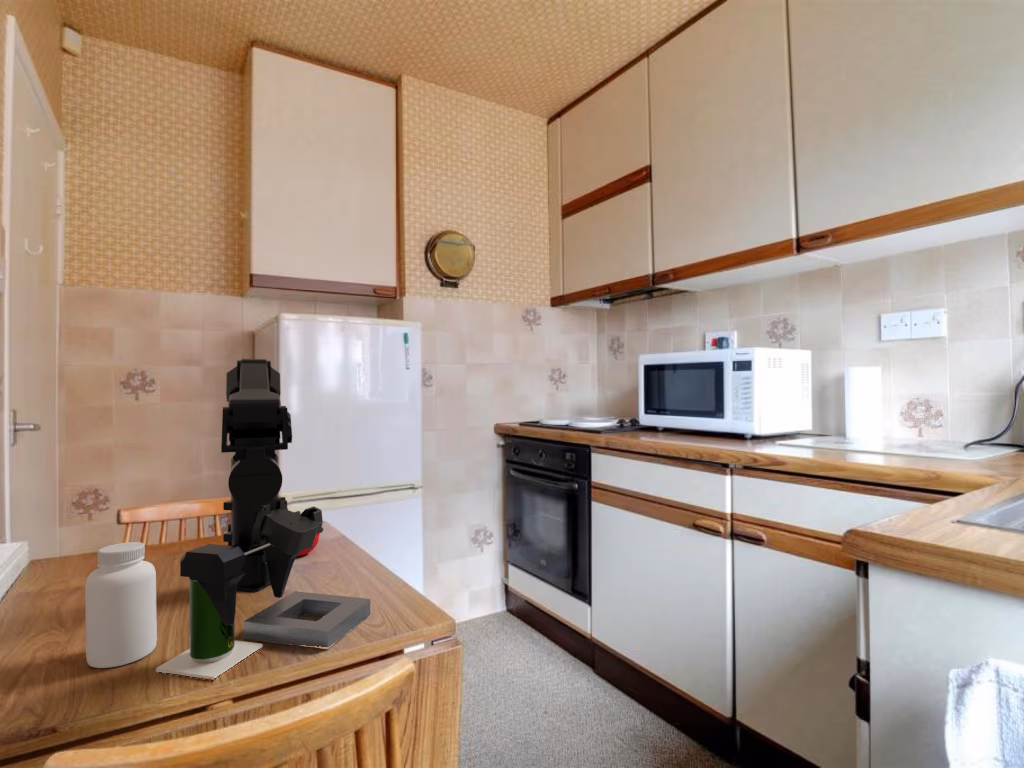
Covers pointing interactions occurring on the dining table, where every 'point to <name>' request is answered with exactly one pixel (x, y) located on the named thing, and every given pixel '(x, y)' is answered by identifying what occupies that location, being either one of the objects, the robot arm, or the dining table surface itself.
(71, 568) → the dining table surface
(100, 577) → the pill bottle
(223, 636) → the green silver-topped cylinder
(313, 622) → the frame
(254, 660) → the dining table surface
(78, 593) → the dining table surface
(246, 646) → the tile
